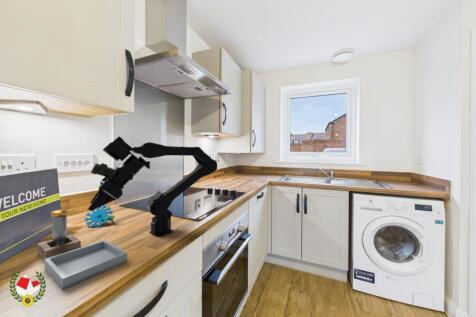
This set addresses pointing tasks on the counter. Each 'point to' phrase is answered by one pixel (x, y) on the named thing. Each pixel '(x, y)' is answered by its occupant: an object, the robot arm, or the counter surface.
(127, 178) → the robot arm
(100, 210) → the gear
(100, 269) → the tray
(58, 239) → the steel pin
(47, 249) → the collar block
